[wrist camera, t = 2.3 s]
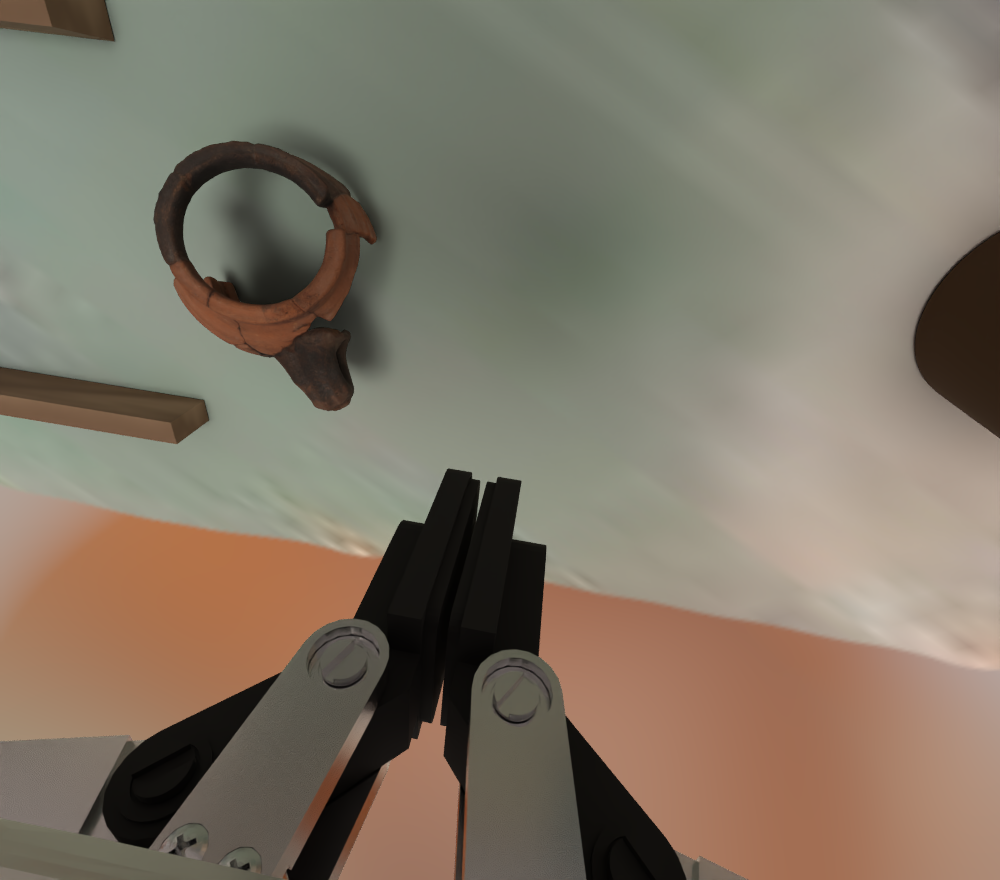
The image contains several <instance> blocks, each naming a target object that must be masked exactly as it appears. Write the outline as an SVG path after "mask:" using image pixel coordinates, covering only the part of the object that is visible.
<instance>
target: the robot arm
mask: <svg viewBox="0 0 1000 880" xmlns="http://www.w3.org/2000/svg"><path fill="white" fill-rule="evenodd" d="M520 487H521V481H520V480H514V479H508V478H502V477H498V478H497V482H496V483H493V482H487V484H486V488H485V491H484V495H483V499H482V502H481V506H480V510H479V513H478V517H477V508H478V499H479V490H480V480H475V479H472V472H466V471H460V470H454V469H447V471H446V473H445V475H444V478H443V480H442V483H441V485H440V487H439V490H438V492H437V495H436V497H435V499H434V502H433V504H432V507H431V509H430V512H429V514H428V516H427V519H426V521H425V524H423V523H417V522H412V521H406V520H403V521H401V522H400V524H399V526H398V528H397V530H396V532H395V534H394V536H393V538H392V540H391V542H390V544H389V546H388V548H387V550H386V552H385V554H384V556H383V559H382V561H381V563H380V565H379V567H378V569H377V571H376V573H375V575H374V577H373V580H372V581H371V583H370V586H369V588H368V590H367V592H366V594H365V596H364V598H363V600H362V602H361V604H360V606H359V608H358V610H357V612H356V614H355V616H354V618H353V619H344V620H338V621H335V622H332V623H329V624H327V625H325V626H323V627H322V628H320V629H319V630H317V631H315V632H314V633H313V634H312V635H311V636H310V637H309V638H308V639H307V640H306V641H305V642H304V644H303V645H302V646H301V648H300V649H299V650H298V651H297V653H296V654H295V656H294V657H293V658H292V659H291V661H290V662H289V663H288V665H287V666H286V667H285V669H284V670H283V671H282V672H281V673H278V674H277V675H275V676H273V677H270V678H268V679H266V680H264V681H262V682H260V683H258V684H256V685H254V686H252V687H250V688H248V689H246V690H244V691H242V692H240V693H238V694H235V695H234V696H231V697H229V698H227V699H225V700H223V701H221V702H219V703H217V704H215V705H213V706H211V707H209V708H207V709H205V710H203V711H201V712H199V713H197V714H195V715H193V716H190V717H188V718H186V719H185V720H182V721H180V722H178V723H176V724H174V725H172V726H170V727H168V728H166V729H164V730H162V731H160V732H158V733H157V734H155V735H153V736H152V737H150V738H148V739H147V740H141V741H133V740H132V739H131V737H130V735H122V736H121V735H120V736H101V737H80V738H60V739H41V740H22V741H21V740H20V741H1V742H0V880H338V879H339V876H340V874H341V872H342V870H343V867H344V865H345V863H346V861H347V859H348V856H349V854H350V852H351V850H352V848H353V845H354V843H355V841H356V839H357V837H358V834H359V832H360V830H361V828H362V826H363V823H364V821H365V819H366V817H367V814H368V812H369V810H370V808H371V806H372V804H373V801H374V799H375V797H376V795H377V793H378V790H379V788H380V786H381V784H382V781H383V779H384V777H385V775H386V773H387V770H388V766H389V764H390V761H391V760H392V759H394V758H395V757H396V756H398V755H400V754H401V753H402V752H404V751H405V750H407V749H408V748H409V745H410V742H411V738H414V739H418V735H419V732H420V728H421V724H422V721H423V722H428V723H432V722H433V719H434V715H435V711H436V707H437V703H438V699H439V695H440V692H441V688H442V684H443V680H444V686H443V699H442V710H441V723H440V725H443V726H446V736H445V746H444V757H445V759H446V761H447V762H448V764H449V766H450V767H451V769H452V771H453V772H454V774H455V776H456V778H457V779H458V781H459V791H458V810H457V828H456V848H455V866H454V867H455V868H454V880H747V879H745V878H744V877H741V876H739V875H737V874H735V873H733V872H731V871H729V870H727V869H725V868H723V867H721V866H719V865H717V864H715V863H713V862H711V861H709V860H707V859H705V858H703V857H701V856H699V858H698V859H697V860H696V861H695V860H693V859H691V858H689V857H687V856H685V855H683V854H681V853H679V852H677V851H675V850H673V848H672V847H671V845H670V843H669V842H668V840H667V839H666V837H665V836H664V835H663V834H662V833H661V831H660V830H659V829H658V828H657V826H656V825H655V824H654V823H653V822H652V820H651V819H650V818H649V817H648V815H647V814H646V813H645V812H644V811H643V809H642V808H641V807H640V806H639V805H638V803H637V802H636V801H635V800H634V799H633V797H632V796H631V795H630V794H629V792H628V791H627V790H626V789H625V787H624V786H623V785H622V784H621V783H620V781H619V780H618V779H617V778H616V776H615V775H614V774H613V773H612V772H611V770H610V769H609V768H608V767H607V766H606V764H605V763H604V762H603V761H602V759H601V758H600V757H599V756H598V755H597V753H596V752H595V751H594V750H593V748H592V747H591V746H590V745H589V744H588V742H587V741H586V740H585V739H584V738H583V736H582V735H581V734H580V733H579V731H578V730H577V729H576V728H575V727H574V725H573V724H572V723H571V722H570V720H569V719H568V718H567V717H566V716H565V709H564V701H563V694H562V689H561V686H560V682H559V679H558V677H557V676H556V674H555V673H554V671H553V670H552V668H551V667H550V666H549V665H548V664H547V663H546V662H545V661H544V660H542V659H541V658H540V657H538V656H539V642H540V641H539V640H540V629H541V616H542V601H543V589H544V575H545V562H546V545H542V544H536V543H531V542H525V541H519V540H514V539H512V537H513V530H514V524H515V518H516V512H517V506H518V500H519V493H520ZM476 517H477V521H476Z"/></svg>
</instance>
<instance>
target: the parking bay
mask: <svg viewBox="0 0 1000 880" xmlns="http://www.w3.org/2000/svg"><path fill="white" fill-rule="evenodd" d="M0 28H6V29H15V30H23V31H31V32H40V33H48V34H57V35H65V36H73V37H82V38H90V39H99V40H107V41H114V37H113V33H112V29H111V25H110V21H109V17H108V13H107V9H106V5H105V1H104V0H0ZM0 415H6V416H12V417H18V418H24V419H30V420H36V421H42V422H48V423H54V424H60V425H66V426H72V427H78V428H84V429H90V430H96V431H102V432H108V433H114V434H120V435H126V436H132V437H138V438H144V439H150V440H156V441H161V442H167V443H173V444H178V443H179V442H180V441H182V440H183V439H184V438H186V437H187V436H188V435H190V434H191V433H193V432H194V431H195V430H197V429H198V428H199V427H201V426H202V425H203V424H205V423H206V422H207V421H209V419H208V415H207V411H206V407H205V403H204V400H199V399H193V398H187V397H181V396H175V395H169V394H162V393H156V392H150V391H144V390H138V389H131V388H125V387H119V386H113V385H107V384H101V383H94V382H88V381H82V380H76V379H70V378H63V377H57V376H51V375H45V374H39V373H33V372H26V371H20V370H14V369H8V368H2V367H0Z"/></svg>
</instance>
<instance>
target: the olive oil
mask: <svg viewBox="0 0 1000 880" xmlns="http://www.w3.org/2000/svg"><path fill="white" fill-rule="evenodd" d="M915 356H916V361H917V365H918V368H919V370H920V372H921V374H922V376H923V377H924V379H925V380H926V381H927V383H928V384H929V385H930V386H931V387H932V388H933V389H934V390H935V391H936V392H938V393H939V394H940V395H941V396H943V397H944V398H945V399H947V400H948V401H949V402H951V403H952V404H954V405H955V406H956V407H958V408H959V409H960V410H962V411H963V412H964V413H966V414H967V415H969V416H970V417H971V418H973V419H974V420H975V421H977V422H978V423H980V424H981V425H982V426H984V427H985V428H986V429H988V430H989V431H991V432H992V433H993V434H995V435H996V436H997V437H999V438H1000V232H999V233H997V234H996V235H994V236H993V237H991V238H990V239H988V240H987V241H985V242H984V243H983V244H981V245H980V246H978V247H977V248H976V249H975V250H973V251H972V252H971V253H970V254H969V255H967V256H966V257H965V258H964V259H963V260H962V261H961V262H960V263H959V264H958V265H957V266H956V267H955V268H954V269H953V270H952V271H951V272H950V273H949V274H948V275H947V276H946V277H945V279H944V280H943V281H942V282H941V284H940V285H939V286H938V288H937V289H936V291H935V292H934V293H933V295H932V297H931V298H930V300H929V302H928V303H927V305H926V307H925V309H924V311H923V314H922V316H921V319H920V322H919V325H918V328H917V333H916V339H915Z"/></svg>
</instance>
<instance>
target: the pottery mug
mask: <svg viewBox="0 0 1000 880" xmlns="http://www.w3.org/2000/svg"><path fill="white" fill-rule="evenodd" d="M241 168H255V169H263V170H267V171H269V172H273V173H276V174H279V175H281V176H284V177H286V178H288V179H289V180H291V181H293V182H294V183H296V184H297V185H298V186H299V187H300V188H302V189H303V190H304V191H305V192H306V193H307V194H308V195H309V196H310V197H311V199H312V200H313V201H314V202H315V203H316V205H317V206H319V207H323V208H327V210H328V212H329V215H330V217H331V219H332V221H333V224H334V229H331V230H329V231H327V233H326V248H325V255H324V259H323V263H322V266H321V267H320V269H319V271H318V273H317V274H316V276H315V278H314V279H313V280H312V281H311V283H310V284H309V285H308V286H307V287H306V288H304V289H303V290H302V291H301V292H299V293H298V294H297V295H295V296H294V297H293V298H292V299H288V300H285V301H282V302H279V303H274V304H264V305H257V304H247V303H243V302H240V300H239V299H238V296H237V294H236V291H235V288H234V286H233V284H232V283H230V282H222V281H217V280H216V279H214V278H212V277H205V278H204V280H203V279H202V278H201V276H200V275H199V274H198V272H197V271H196V269H195V267H194V266H193V264H192V263H191V262H190V260H189V258H188V256H187V253H186V250H185V245H184V240H183V223H184V216H185V212H186V209H187V206H188V204H189V202H190V201H191V198H192V196H193V195H194V194H195V192H196V191H197V190H198V189H199V188H200V187H201V186H202V185H203V184H204V183H206V182H207V181H209V180H210V179H212V178H214V177H215V176H217V175H219V174H221V173H223V172H226V171H230V170H234V169H241ZM154 223H155V230H156V236H157V241H158V244H159V248H160V250H161V253H162V256H163V258H164V260H165V262H166V263H167V264H168V265H169V266H170V269H171V271H172V273H173V275H174V276H175V279H174V287H175V289H176V291H177V293H178V295H179V297H180V299H181V300H182V302H183V303H184V305H185V306H186V308H187V309H188V310H189V311H190V313H191V314H192V315H193V316H194V317H195V318H196V319H197V320H198V321H199V322H200V323H201V324H202V325H203V326H204V327H206V328H207V329H208V330H209V331H211V332H212V333H213V334H215V335H216V336H217V337H219V338H220V339H222V340H224V341H225V342H227V343H229V344H233V345H234V346H235V347H237V348H239V349H241V350H243V351H246V352H249V353H252V354H256V355H260V356H264V357H275V358H276V359H277V360H278V361H279V362H280V364H281V365H282V366H283V367H284V369H285V370H286V371H287V373H288V374H289V376H290V377H291V379H292V380H293V382H294V383H295V384H296V385H297V386H298V387H299V388H300V389H301V390H302V391H303V392H304V393H305V394H306V395H307V396H308V398H309V399H310V400H311V401H312V403H313V405H314V406H315V407H316V408H319V409H323V410H327V411H330V410H333V411H337V410H340V409H342V408H344V407H346V406H348V405H349V403H350V401H351V398H352V396H353V393H354V386H353V383H352V379H351V376H350V372H349V369H348V365H347V361H346V349H347V346H348V343H349V340H350V338H351V336H350V335H351V334H350V332H349V331H347V330H343V331H342V332H340V331H338V330H336V329H331V328H325V327H318V328H315V329H312V330H308V328H310V325H311V323H312V322H313V320H314V319H315V318H316V317H321V318H323V319H325V320H327V321H331V320H332V319H333V318H334V317H335V315H336V313H337V311H338V310H339V308H340V307H341V305H342V303H343V300H344V299H345V298H346V296H347V294H348V293H349V290H350V287H351V284H352V281H353V278H354V274H355V272H356V269H357V266H358V261H359V254H360V238H359V237H363V238H364V239H365V240H366V241H368V243H370V244H373V243H375V242H376V240H377V237H376V234H375V231H374V229H373V226H372V224H371V222H370V220H369V218H368V216H367V214H366V213H365V211H364V210H363V208H362V207H361V205H360V203H359V202H357V201H356V200H354V199H353V198H352V197H351V194H350V192H349V190H348V189H347V188H346V187H345V186H344V185H343V184H342V183H340V182H339V181H337V180H336V179H335V178H333V177H332V176H331V175H329V174H328V173H326V172H324V171H323V170H321V169H320V168H318V167H317V166H315V165H313V164H311V163H309V162H307V161H305V160H303V159H301V158H299V157H296V156H294V155H291V154H289V153H287V152H285V151H282V150H281V149H279V148H275V147H272V146H268V145H264V144H255V145H254V144H251V143H249V142H239V141H230V142H226V143H219V144H212V145H209V146H207V147H204V148H202V149H200V150H198V151H195V152H193V153H192V154H190V155H189V156H187V157H186V158H185V159H184V160H183V161H181V162H180V163H179V164H177V165H176V167H175V169H174V172H173V173H171V174H170V175H169V177H168V178H167V180H166V182H165V184H164V186H163V188H162V189H161V191H160V192H159V197H158V200H157V203H156V207H155V211H154Z"/></svg>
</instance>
